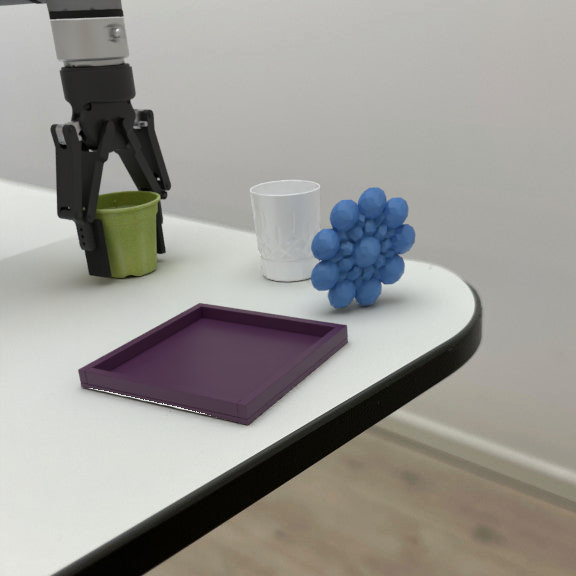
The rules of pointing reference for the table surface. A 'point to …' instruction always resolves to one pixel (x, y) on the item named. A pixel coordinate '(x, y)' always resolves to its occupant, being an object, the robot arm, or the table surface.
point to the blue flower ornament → (362, 248)
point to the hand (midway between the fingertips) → (129, 263)
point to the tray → (217, 360)
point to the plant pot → (129, 231)
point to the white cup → (286, 227)
